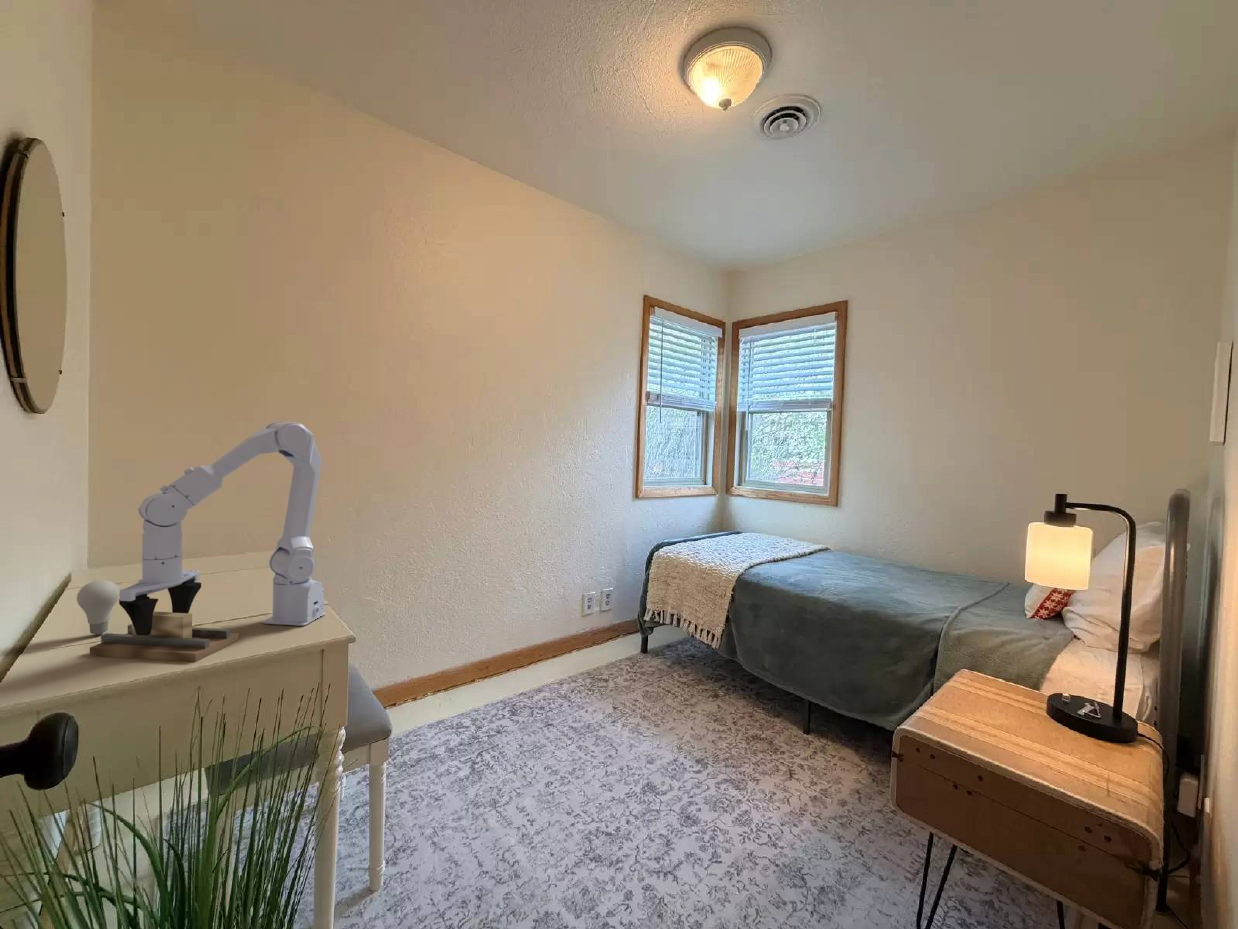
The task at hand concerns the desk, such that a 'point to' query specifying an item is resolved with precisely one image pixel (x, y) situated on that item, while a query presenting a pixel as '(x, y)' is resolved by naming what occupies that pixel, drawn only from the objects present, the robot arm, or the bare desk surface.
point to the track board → (165, 645)
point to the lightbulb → (98, 603)
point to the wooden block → (170, 625)
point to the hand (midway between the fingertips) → (162, 627)
